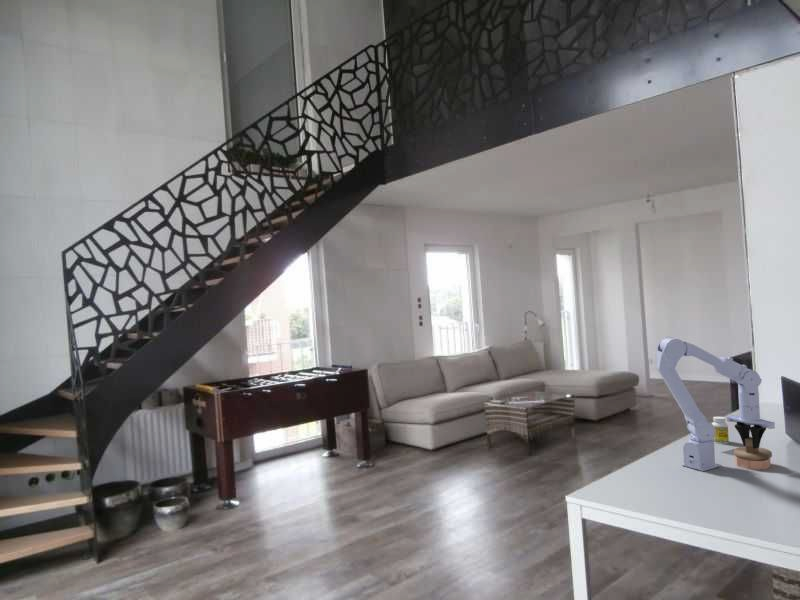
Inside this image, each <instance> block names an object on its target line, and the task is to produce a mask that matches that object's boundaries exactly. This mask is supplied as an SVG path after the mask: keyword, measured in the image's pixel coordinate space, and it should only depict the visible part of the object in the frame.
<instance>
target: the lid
mask: <svg viewBox="0 0 800 600" xmlns="http://www.w3.org/2000/svg"><path fill="white" fill-rule="evenodd" d="M745 445H746V446H743V447H741V448H739V447H737V448H738V449H736V448H734V449H735V450H734V455H735V456H736V457H738V458H741V459H746V460H765V459H769V458H770V459H771V458H772V457H773V453H772V451H771V450H769V449H767V448H763V447H759V448H753V442H752V436H749V437H748V438H745ZM734 455H733V456H734Z"/></svg>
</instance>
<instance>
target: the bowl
mask: <svg viewBox="0 0 800 600" xmlns="http://www.w3.org/2000/svg"><path fill="white" fill-rule="evenodd" d="M733 457H734V458H733V459H734V464H735V465H736V466H737V467H740V468H743V469H746V470H747V469H748V470H755V471H756V470H758V471H759V470H760V471H761V470H768V469H770V468H771V466H772V465H771V458H769V459H765V460H746V459H741V458H738V457H736V456H735V455H733Z"/></svg>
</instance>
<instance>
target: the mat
mask: <svg viewBox="0 0 800 600" xmlns="http://www.w3.org/2000/svg"><path fill="white" fill-rule="evenodd" d="M738 448H742V447H740V446H739V447H735V448H732V449H729V450H725V451H721V452H720V453H721V454H727V455H729V456H734V450H735V449H738Z"/></svg>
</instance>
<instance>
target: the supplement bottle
mask: <svg viewBox="0 0 800 600" xmlns="http://www.w3.org/2000/svg"><path fill="white" fill-rule="evenodd" d="M712 420H713V422H712V423H711V424H712V425H714V427H715V429H716V435H715V437H714V444H721V445H725V444H726V445H727V444H729V442H730V440H729V425H728V423H726V421H727V419H726V417H724V416H713V417H712Z"/></svg>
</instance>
